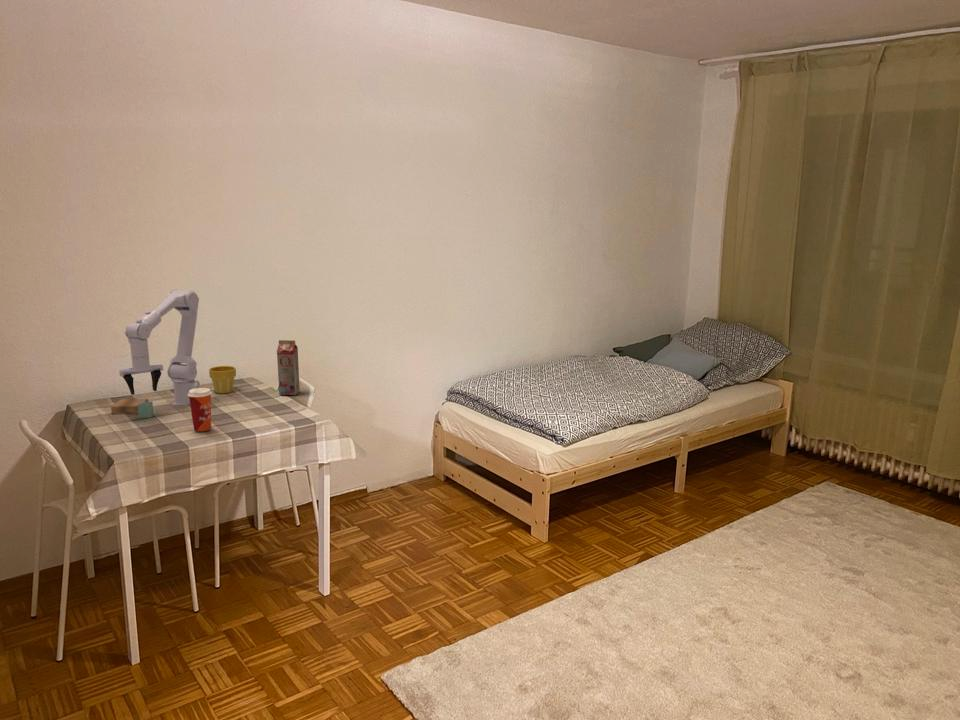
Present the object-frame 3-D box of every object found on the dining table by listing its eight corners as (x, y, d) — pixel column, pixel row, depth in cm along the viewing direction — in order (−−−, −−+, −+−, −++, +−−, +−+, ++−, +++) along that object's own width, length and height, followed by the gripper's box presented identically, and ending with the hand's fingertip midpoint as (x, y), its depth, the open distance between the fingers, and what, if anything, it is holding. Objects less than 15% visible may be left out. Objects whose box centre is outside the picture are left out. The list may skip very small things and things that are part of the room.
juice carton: (295, 394, 296) (292, 342, 291) (279, 394, 296) (276, 341, 291) (299, 390, 303) (297, 338, 298) (283, 390, 303) (281, 338, 298)
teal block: (153, 414, 269) (152, 401, 268) (150, 417, 265) (148, 404, 264) (142, 414, 268) (140, 401, 267) (138, 418, 265) (137, 404, 263)
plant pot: (240, 387, 306) (238, 365, 303) (233, 394, 295) (231, 371, 293) (214, 388, 305) (213, 365, 303) (207, 394, 295) (205, 371, 293)
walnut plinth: (148, 406, 279) (148, 398, 278) (140, 413, 269) (139, 406, 268) (121, 406, 278) (120, 399, 277) (111, 414, 268) (111, 406, 267)
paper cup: (207, 433, 249) (204, 393, 246) (186, 431, 250) (183, 392, 247) (218, 426, 256) (215, 387, 253) (198, 424, 258) (195, 386, 254)
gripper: (157, 351, 269) (160, 386, 272) (115, 356, 260) (119, 393, 263) (163, 354, 264) (167, 390, 267) (121, 360, 255) (124, 397, 258)
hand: (143, 392), depth 265 cm, fingers open, 7 cm apart
